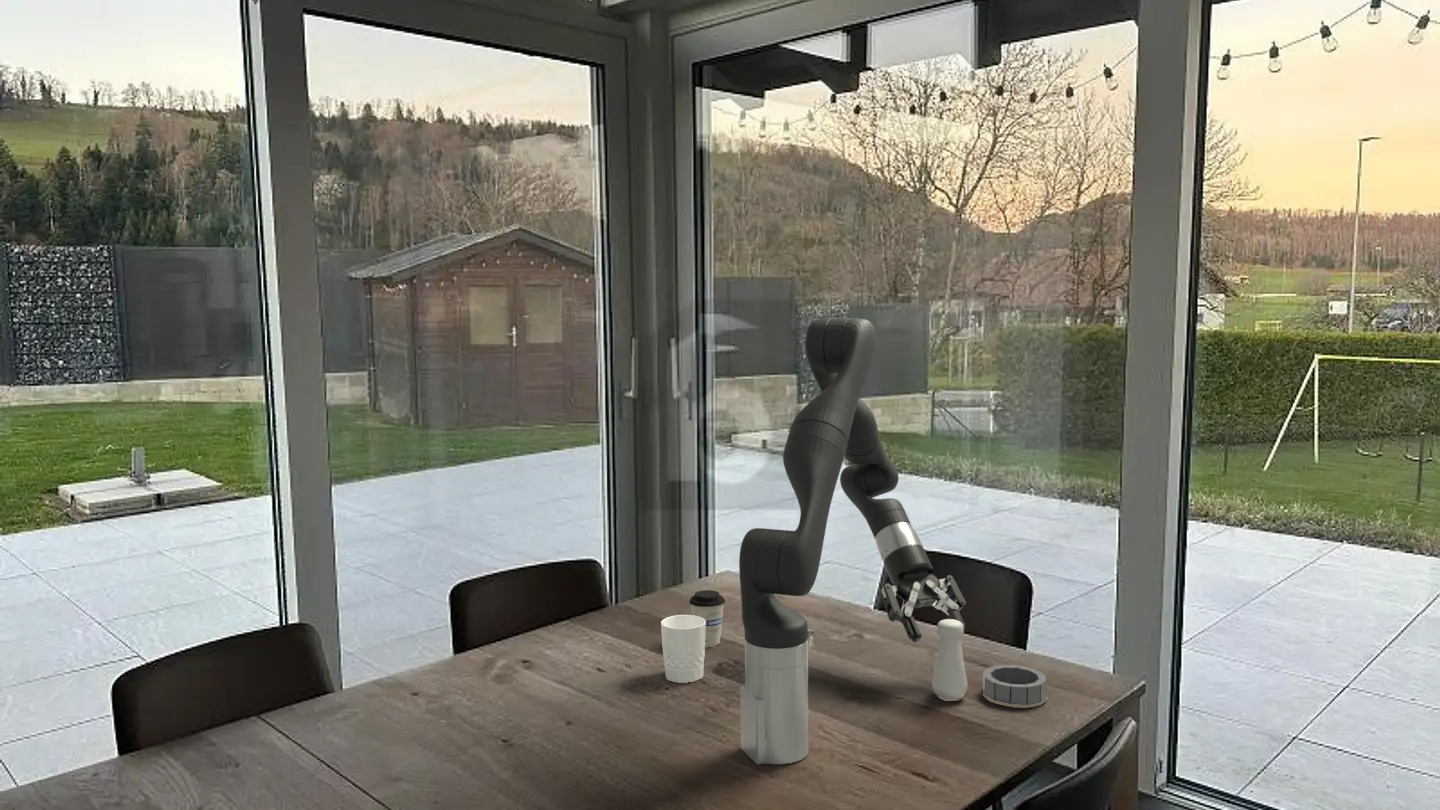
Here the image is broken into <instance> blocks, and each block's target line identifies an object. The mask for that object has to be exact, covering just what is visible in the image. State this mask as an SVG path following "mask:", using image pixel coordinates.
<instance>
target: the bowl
mask: <svg viewBox="0 0 1440 810" xmlns="http://www.w3.org/2000/svg"><path fill="white" fill-rule="evenodd" d="M982 673H983V674H982V675H983V676H982V678H983V679H982V689H983V691H984V694H985V695H986V696H988V697H990V698H991V699H993V700H995V701H999V702H1004V703H1008V704H1010V703H1011V704H1021V705H1026V704H1027V705H1030V704H1035V703H1041V702H1042V701H1043V702H1044V699H1047V700H1048V696H1047V697H1046V694H1047V688H1048V687H1047V682H1048V679H1047V677H1046V675H1045V674H1044V672H1041V671H1040V670H1039V671H1038V670H1037V669H1035V668H1031V667H1028V666H1024V665H1017V664H1016V665H1014V664H1013V665H1012V664H1000V665H995V666H990V667H988V668H986V669H985V670H983V672H982Z"/></svg>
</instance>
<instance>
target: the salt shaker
mask: <svg viewBox="0 0 1440 810" xmlns="http://www.w3.org/2000/svg"><path fill="white" fill-rule="evenodd" d="M936 628H937V629H936V630H937V631H936V632H937V635H938V636H939V637H940V639H939V645H938V649H937V650H938V651H937V655H936V659H935V660H936V662H935V667H934V671H933V675H932V679H931V681H932V682H931V684H932V689H933V691H934V693H935V695H938V696H939V697H942V698H946V699H958V698H961V697H963V698H964V697H965V693H966V692H967V690H968V686H969V684H968V678H967V674H966V673H967V672H966V667H965V660H964V654H963V648H962V643H961V637H963V635H964V632H965V630H964V629H965V628H963V624H962V623H961V622H960V621H958V620H954V619H948V618H946V619H945V618H944V619H941V620H939V622H938V623H937V627H936Z"/></svg>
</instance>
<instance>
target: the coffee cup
mask: <svg viewBox="0 0 1440 810" xmlns="http://www.w3.org/2000/svg"><path fill="white" fill-rule="evenodd" d="M688 602H689V603H688V604H690V609H691V611H690V612H691V615H694V616H699V617H702V618H704V619H705V620H706V631H705V647H712V646H716V645H718V644H719V643H720V642H721V636H722V635H721V633H722V624H723V615H724V614H723V613H724V605H725V603H726V599H725V597H724V596H723V595H721V594H720V592H719V591H716V590H710V589H709V590H707V589H705V590H699V591H696V592H694V595H693V596H691V597H690V599H689V601H688ZM720 644H721V643H720Z"/></svg>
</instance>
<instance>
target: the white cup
mask: <svg viewBox="0 0 1440 810" xmlns="http://www.w3.org/2000/svg"><path fill="white" fill-rule="evenodd" d="M660 626H661V627H660V628H661V645H662V655H663V664H664V673H665V678H666V680H668V682H671V681H672V682H673V683H676V682H677V684H689V683H688V682H691V683H695V682H698V681H700V680H701V679H702V678H703V677H704V672H705V671H704V664H705V663H704V662H705V657H706V656H705V655H706V653H705V652H706V648H705V631H706V620H705V619H704V618H702V617H699V616H694V615H692V614H677V615H676V614H675V615H672V616H668V617H665V618H664V619H662V620H661V621H660ZM699 679H700V680H699ZM697 680H698V681H697ZM694 681H695V682H694ZM672 682H671V683H672Z"/></svg>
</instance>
